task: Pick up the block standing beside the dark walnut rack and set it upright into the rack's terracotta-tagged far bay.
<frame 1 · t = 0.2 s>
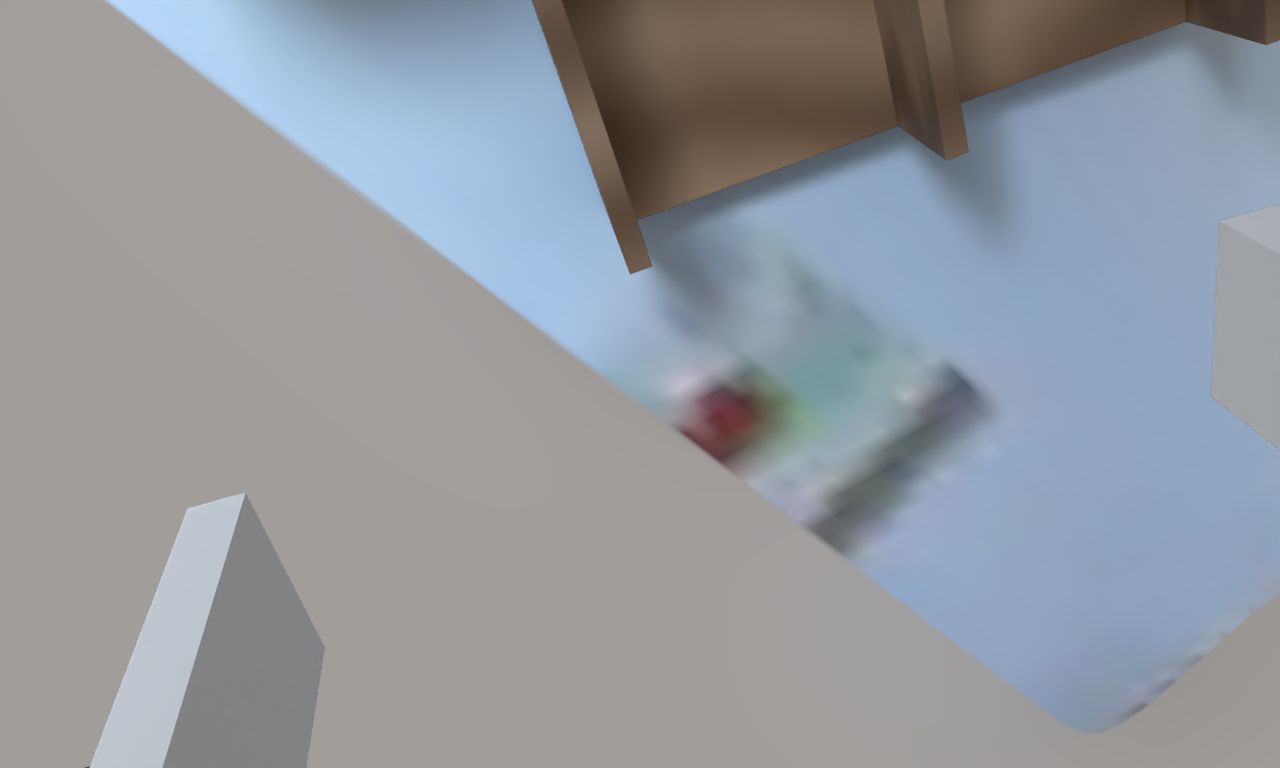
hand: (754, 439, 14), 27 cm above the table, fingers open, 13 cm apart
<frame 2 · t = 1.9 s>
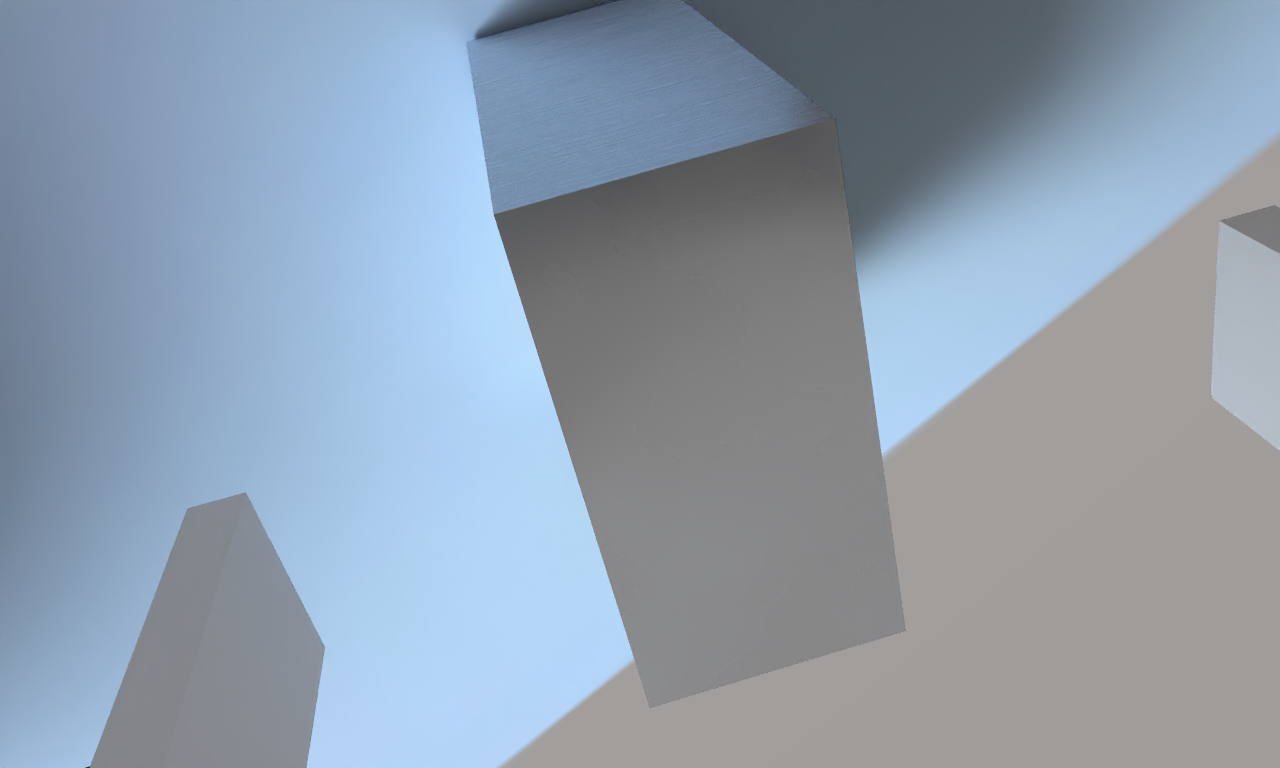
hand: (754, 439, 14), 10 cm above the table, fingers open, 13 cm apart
block: (615, 205, 23), on the table
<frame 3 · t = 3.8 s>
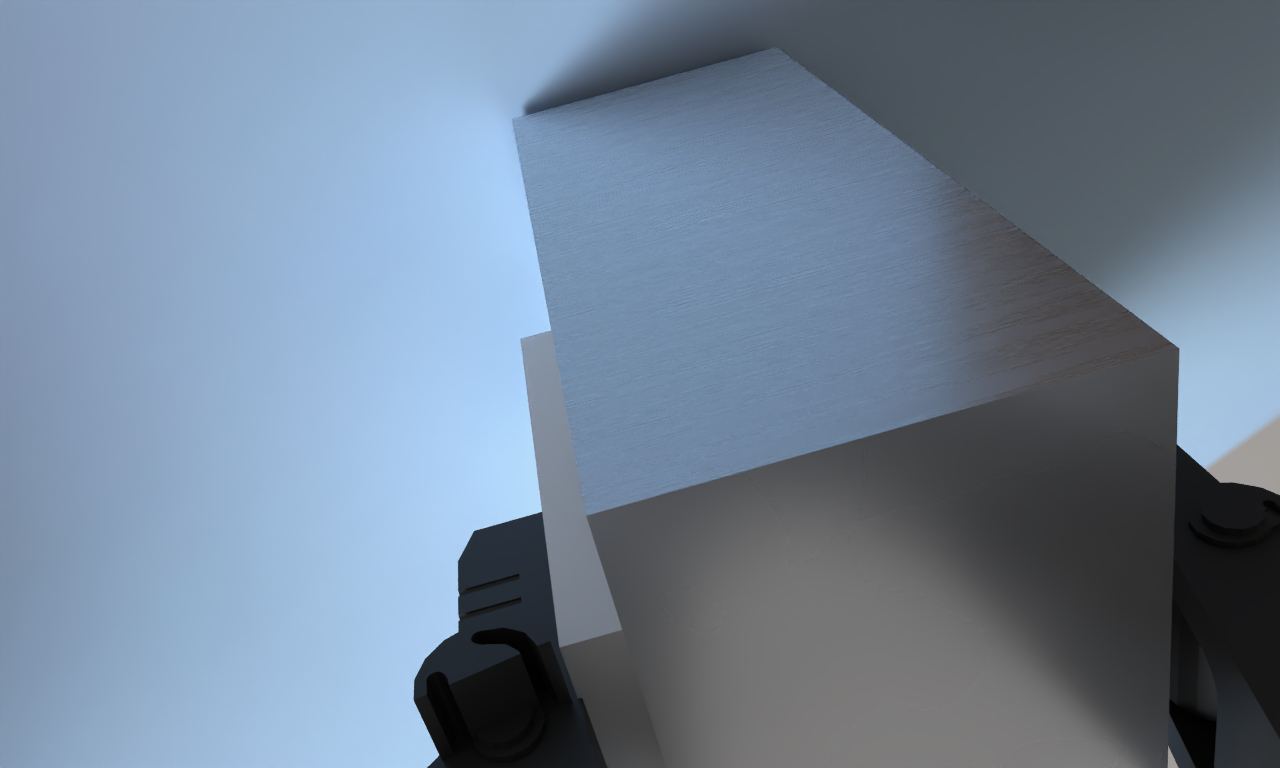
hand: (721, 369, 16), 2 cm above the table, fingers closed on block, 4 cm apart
block: (698, 321, 18), on the table, touching gripper
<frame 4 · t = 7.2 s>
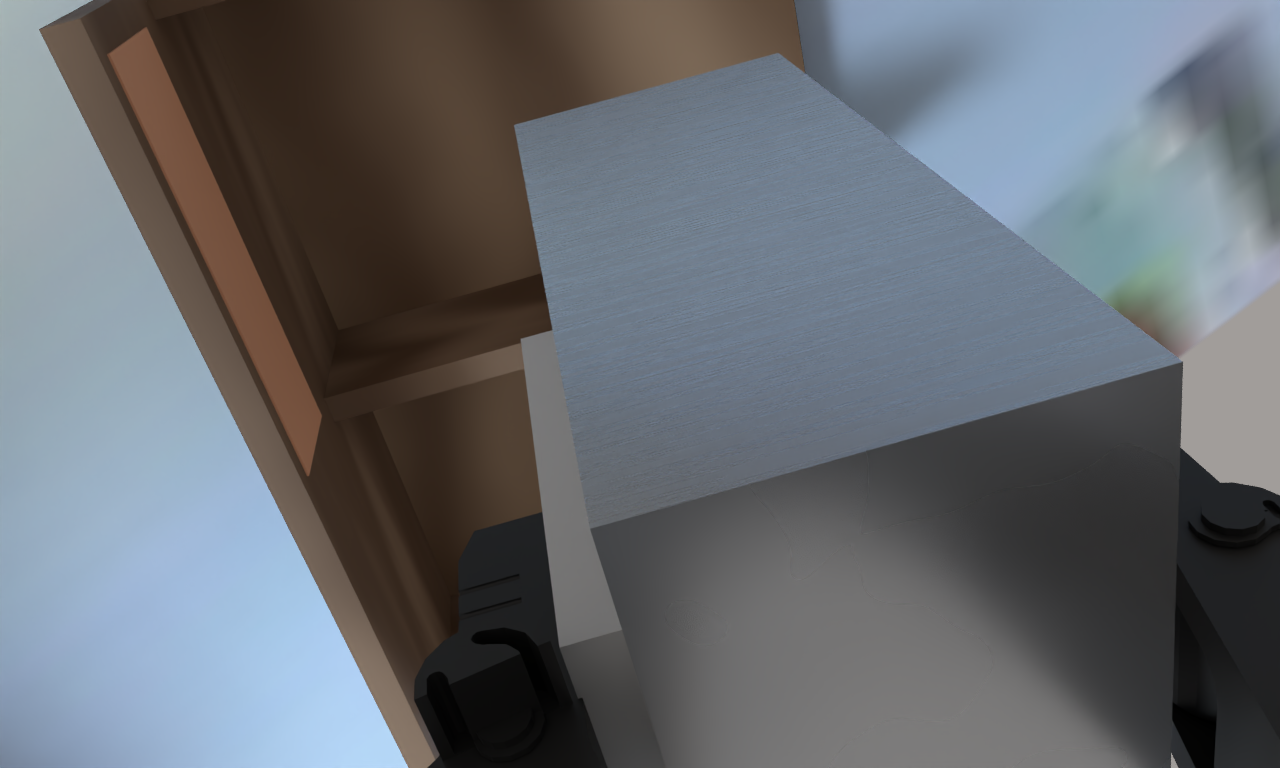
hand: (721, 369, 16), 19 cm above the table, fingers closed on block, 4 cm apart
rack: (582, 261, 35), on the table
block: (700, 326, 18), point 17 cm above the table, touching gripper
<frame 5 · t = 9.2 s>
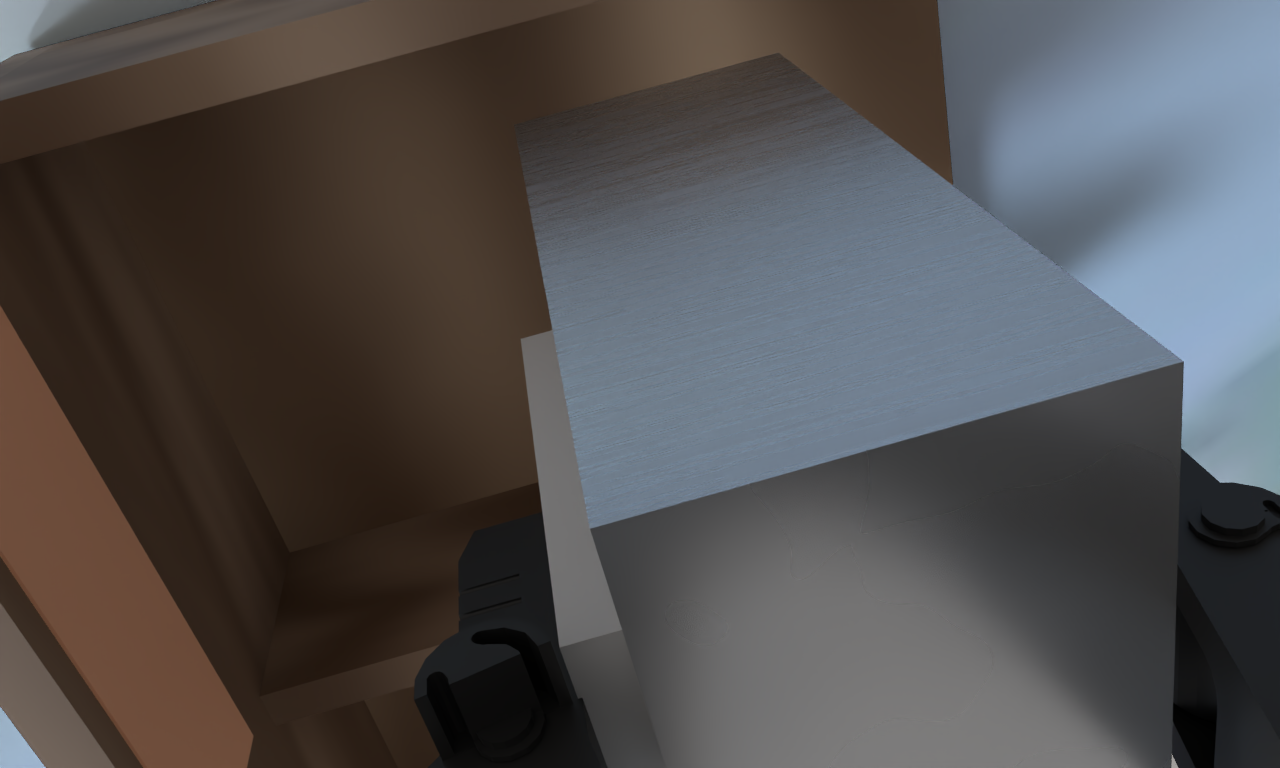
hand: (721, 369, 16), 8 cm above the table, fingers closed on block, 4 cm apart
rack: (629, 447, 25), on the table
block: (700, 326, 18), point 6 cm above the table, touching gripper
when the fingers open (3 cm above the table, at t = 10.8 s): block stays where it is, resting on rack.
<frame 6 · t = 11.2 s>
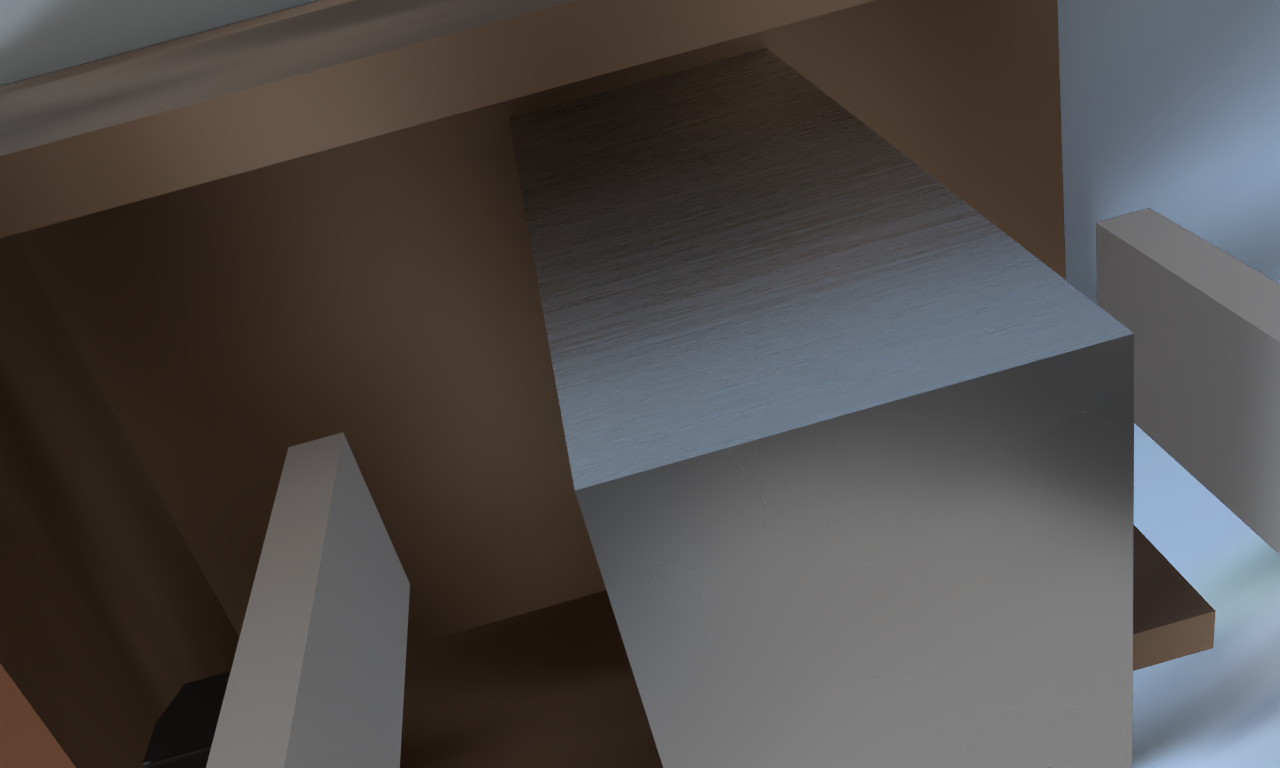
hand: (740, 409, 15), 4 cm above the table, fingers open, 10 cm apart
rack: (667, 555, 22), on the table
block: (691, 315, 18), point 1 cm above the table, touching rack
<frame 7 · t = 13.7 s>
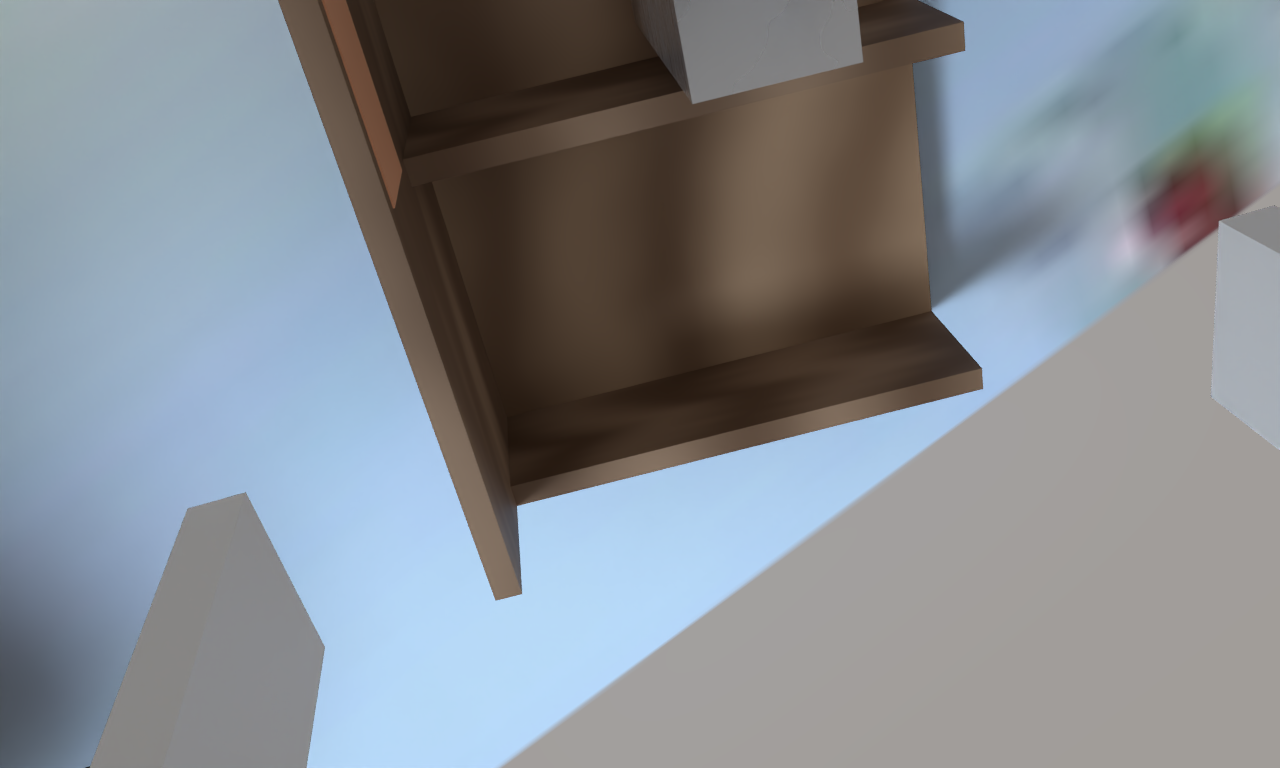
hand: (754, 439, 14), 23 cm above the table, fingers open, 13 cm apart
rack: (657, 61, 35), on the table
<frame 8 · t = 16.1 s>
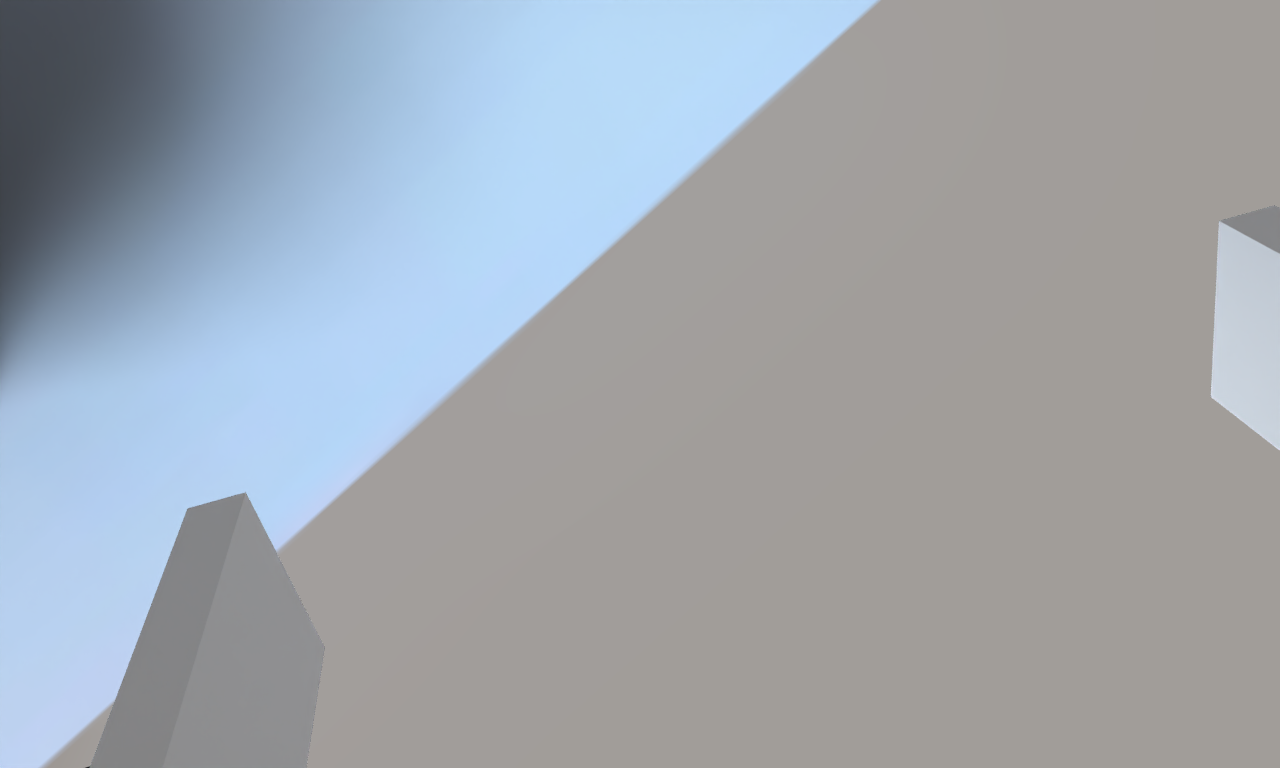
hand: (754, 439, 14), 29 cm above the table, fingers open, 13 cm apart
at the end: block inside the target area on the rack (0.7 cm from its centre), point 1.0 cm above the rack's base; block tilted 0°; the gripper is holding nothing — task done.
